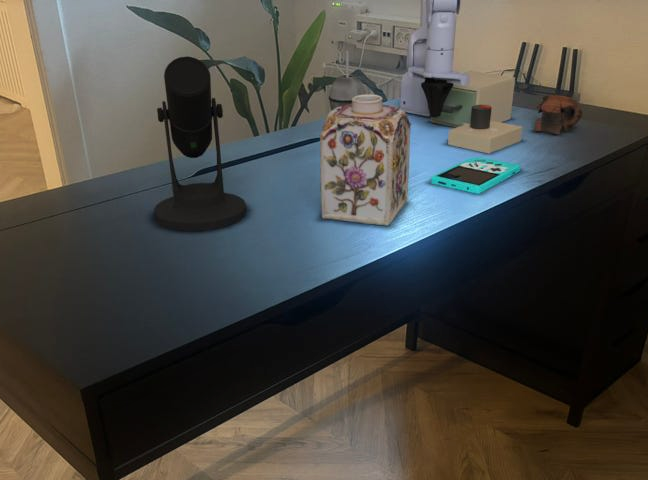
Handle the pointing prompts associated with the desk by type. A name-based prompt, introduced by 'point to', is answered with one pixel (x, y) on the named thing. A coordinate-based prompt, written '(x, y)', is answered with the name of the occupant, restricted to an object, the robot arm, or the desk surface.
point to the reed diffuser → (345, 88)
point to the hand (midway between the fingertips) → (435, 116)
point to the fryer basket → (457, 107)
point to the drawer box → (490, 94)
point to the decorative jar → (364, 161)
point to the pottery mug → (558, 114)
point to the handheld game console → (475, 174)
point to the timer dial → (480, 116)
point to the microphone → (194, 151)
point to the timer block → (485, 137)
